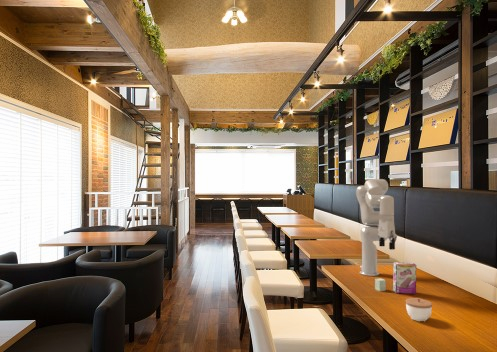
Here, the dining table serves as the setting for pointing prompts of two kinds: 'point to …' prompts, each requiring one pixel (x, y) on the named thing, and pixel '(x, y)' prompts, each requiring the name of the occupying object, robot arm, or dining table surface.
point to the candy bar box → (404, 278)
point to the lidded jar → (418, 308)
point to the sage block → (380, 284)
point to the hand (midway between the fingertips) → (386, 247)
